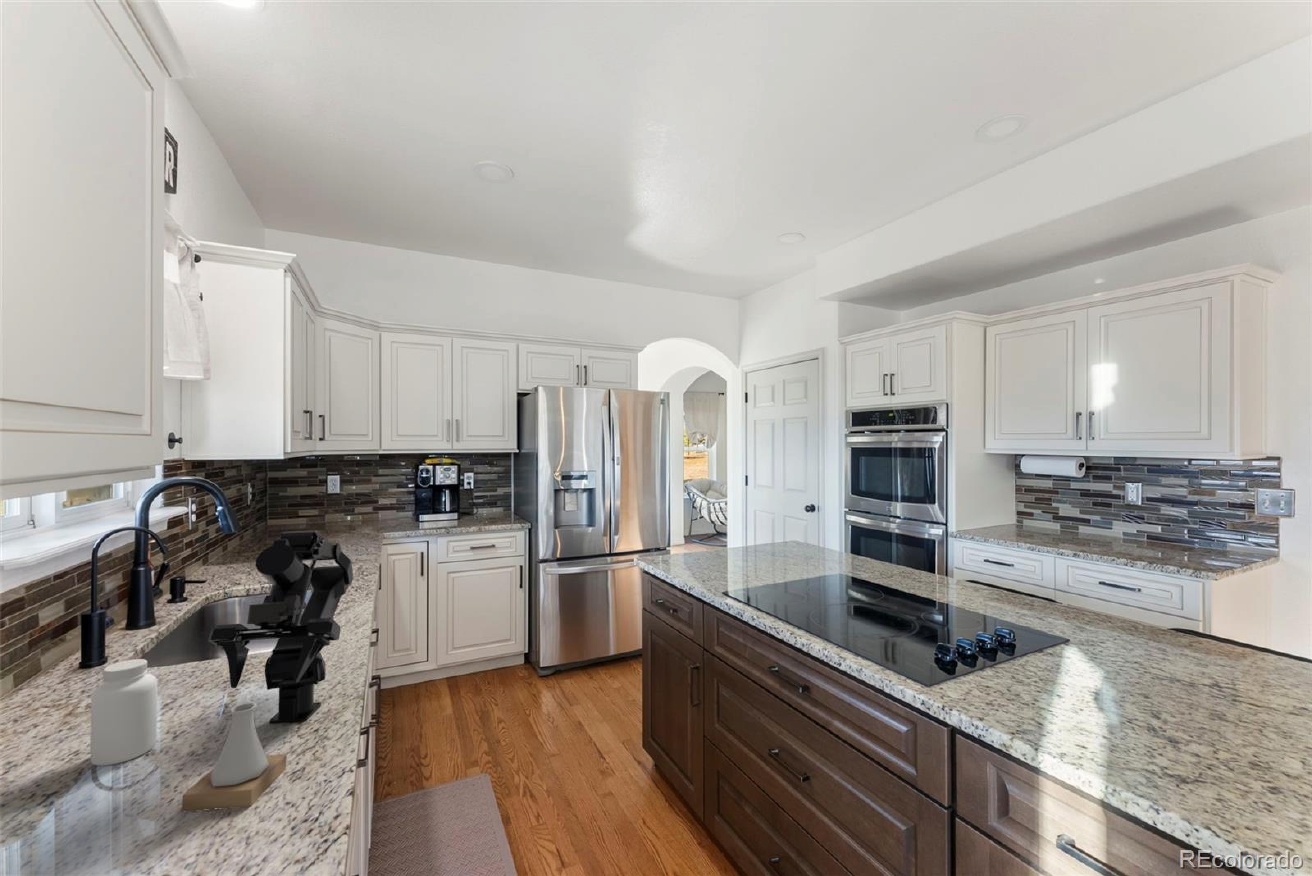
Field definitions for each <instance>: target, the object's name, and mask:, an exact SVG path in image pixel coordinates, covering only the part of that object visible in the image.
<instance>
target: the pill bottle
mask: <svg viewBox="0 0 1312 876" xmlns="http://www.w3.org/2000/svg"><path fill="white" fill-rule="evenodd" d="M102 679H103V680H102V682H103V683H102V684H100V685H99V686H97V687H96V688H95V689H94V690H93V692H92V694H91V698H90V745H89V746H90V750H89V752H90V754H89V755H90V762H91V764H93V765H95V766H99V767H100V766H110V765H116V764H119V763H121V764H122V763H123V762H124V763H125V762H126V761H127V762H128V761H130V760H132V759H135V758H138V757H139V756H142V755H144V754H145V753H148V752H149V751H150V750H152V749H153V748H154V747H155V745H156V743H157V740H158V739H157V738H158V735H157V734H158V731H157V729H158V680H157V678H156V677H155V676H154V675H153V674H150V673H148V660H146V659H144V658H138V659H135V658H134V659H129V660H124V661H119V662H117V663H114V664H110V665H108V666H106V667H105V668H104V669H103V670H102Z"/></svg>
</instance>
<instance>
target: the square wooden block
mask: <svg viewBox="0 0 1312 876" xmlns="http://www.w3.org/2000/svg"><path fill="white" fill-rule="evenodd" d="M265 755H266V754H265ZM266 758H267V760H268V763H269V766H268V767H267V768H266V769H265V770H264V771H263V772H262V774H261V775H260V776H258V777H255V778H252V779H250V780H247V781H244V782H241V783H239V784H236V785H226V786H214V787H213V785H212V783H211V781H210V776H211V774H212V771H213V769H214V767H213V768H212V769H211V770H210V771H209V772H207V773H206V774H205V775H204V776H203V777H202V778H201V779H199V780H198V781H197V782H195V784H194V785H192V786H191V787H190V788H189V789H188V790H186V792H184V793H183V794H182V799H181V800H182V801H181V802H182V803H181V804H182V805H181V807H182V808H181V812H182V811H190V812H197V811H196V810H202V811H205V810H204V809H214V810H216V809H215V808H218V809H217V810H220V809H219V808H226V809H236V807H238V808H246V807H248V808H249V807H252V806H253V805H254V804H255V803H256V802H257V801H258V800H259V799H260V797H261V796H262V795H263V794H264V793H265V792H266V791H267V790H268V789H269V788H270V787H271V785H273V783H274V782H276V780H277V779H278V778H279V777H280V776H281V775H282V774H283V772H284V771H286V769H287V754H286V753H284V754H267V755H266ZM231 807H232V808H231ZM233 807H235V808H233Z"/></svg>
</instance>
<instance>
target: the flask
mask: <svg viewBox="0 0 1312 876" xmlns="http://www.w3.org/2000/svg"><path fill="white" fill-rule="evenodd" d="M256 709H257V703H256V702H254V701H252V702H243V703H239V704H236V705H234V706H233V707H231V708H230V710H229V712H230V714H231V716H232V717H231V723H230V724H231V725H230V728H229V731H228V735H227V738H226V740H225V742H224V745H223V748H222V750H221V752H220V754H219V757H218V758H217V761H216V763H215V766H214V767H213V768H214V769H213V768H212V769H213V771H212V774H211V776H210V781H211V783H212V785H213V787H214V786H226V785H236V784H239V783H241V782H244V781H247V780H250V779H252V778H255V777H258V776H260V775H261V774H262V772H263V771H264V770H265V769H266V768H267V767H268V766H269V763H268V760H267V758H266V754H265V751H264V749H263V748H264V747H263V746H262V744H261V741H260V739H259V736H258V733H257V730H256V724H255V721H254V717H255V716H254V715H255V710H256Z"/></svg>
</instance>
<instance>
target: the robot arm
mask: <svg viewBox="0 0 1312 876" xmlns="http://www.w3.org/2000/svg"><path fill="white" fill-rule="evenodd" d="M341 547H342V546H341V544H340V542H336V541H329V540H326V539H325V537H324V535H323V534H322V533H321V532H320V531H319V530H300V531H298V530H297V531H282V532H281V533H280V536H279V537H277V538H275V539H274V540H273V542H272V543H271V545H270V546H269V547H266V548H265V549H264V550H262V551H261V552H260V553H259V554H258V556H256V559H255V568H256V570H257V571H258V572H259V573H260V574H261V575H262V577H264V579H265V580H267V581H268V583H270V584H271V588H270V591H269V594H268V595H265V598H264V600H263V603H254V604H249V608H248V614H247V620H246V621H247V622H246V624H247V625H254V626H256V627H259V628H248V627H246V626H245V625H243V624H241V623H230V624H218V625H217V626H215V627H214V628H213V629H212V630H211V631H210V633H209V637H208V640H207V642H209V643H211V644H212V645H214V646H215V647H217V648H219V649H220V650H223V651H224V653H225V655H226V658H227V662H228V663H227V664H228V671H229V673H228V674H229V681H230V687H231V688H232V689H237V687H238V685H239V683H240V681H241V677H242V674H243V671H244V668H245V664H246V661H247V658H248V654H249V651H250V649H249V648H248V647H246V646H247V645H248V644H249V643H250V641H255V640H258V641H259V640H260V641H261V640H272V639H273V640H275V639H278V640H277V642H276V643H275V646H274V648H273V649H272V650H271V651H272V652H271V655H270V656H269V657H267V660H266V662H265V665H264V676H265V683H266V690H268V691H269V690H274V689H278V711H277V713H275V715H273V716H272V717H271V718H270V719H269V724H273V723H274V724H275V723H289V722H290V723H291V722H304V721H306V720H308V719H309V718H310V717H311V716H312V715H313V714H314V713H315V712H316V711H317V709H319V708H321V706H322V702H319V701H318V702H314V700H315V697H314V695H315V685H318V684H319V683H320V682H323V681H324V680H325V679H326V674H327V673H326V672H327V671H326V670H327V669H326V662H325V660H324V657H323V655H322V654H321V651H322V649H324V647H328V646H330V645H331V642H332V641H333V642H334V641H338V640H339V639H340V635H341V631H342V630H341V625H339V624H338V623H337V621H336V620H334V618H333V617H329V614H330V612H331V609H332V607H333V605H334V602H335V600H337V599H339V598H341V596H344V595H345V594H346V593H347V590H348V589H349V587H350V585H352V582H353V578H354V573H353V565H352V560H351V559H350V558H349V556H347V554H345V553H344V552H343V551H342V548H341ZM331 560H332V561H333V560H334V562H335V563H336V565H329V566H328V565H325V566H315V565H316V563H317V561H331ZM303 561H311V562H310V564H309V565H308V564H306V563H305V562H303ZM308 588H310V597H309V598H308V601H307V603H306V598H307V593H308Z"/></svg>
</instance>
